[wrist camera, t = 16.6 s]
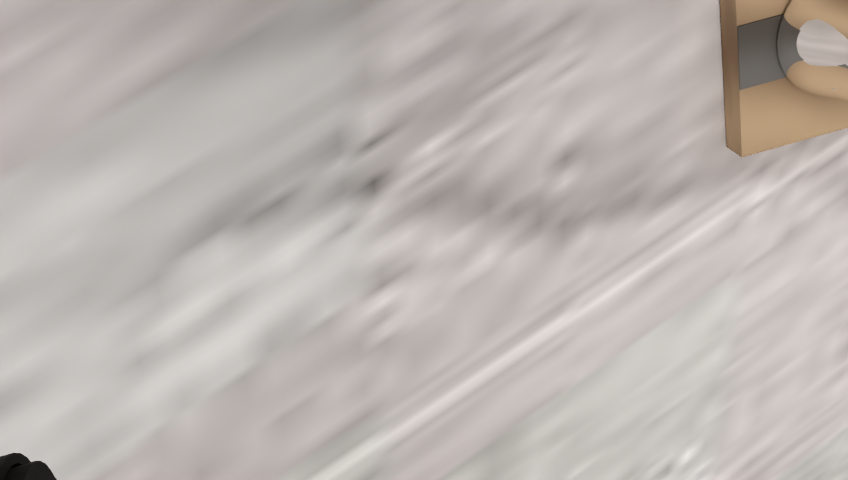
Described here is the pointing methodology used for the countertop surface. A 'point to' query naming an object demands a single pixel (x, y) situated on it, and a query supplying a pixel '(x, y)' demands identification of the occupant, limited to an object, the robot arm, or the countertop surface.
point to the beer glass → (815, 46)
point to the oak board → (766, 84)
